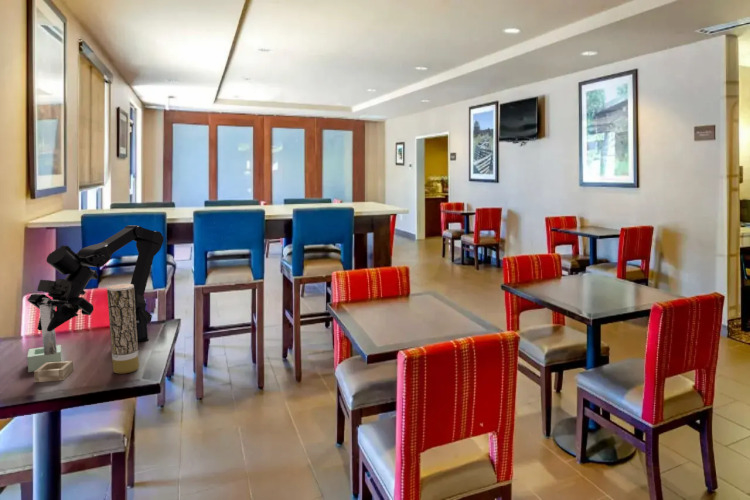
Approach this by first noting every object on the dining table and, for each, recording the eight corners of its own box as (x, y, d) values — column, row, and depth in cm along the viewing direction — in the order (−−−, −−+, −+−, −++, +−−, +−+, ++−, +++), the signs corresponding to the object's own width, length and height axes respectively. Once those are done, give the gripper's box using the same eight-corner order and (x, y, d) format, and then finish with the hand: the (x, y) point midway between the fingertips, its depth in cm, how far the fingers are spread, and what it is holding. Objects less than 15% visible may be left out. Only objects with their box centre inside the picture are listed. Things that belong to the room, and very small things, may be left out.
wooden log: (121, 376, 134) (115, 289, 131) (108, 371, 138) (102, 287, 134) (144, 368, 140) (138, 285, 136) (130, 364, 143) (125, 283, 140)
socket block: (62, 358, 148) (60, 344, 147) (61, 366, 141) (60, 352, 140) (30, 363, 144) (29, 349, 143) (28, 372, 137) (27, 357, 136)
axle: (57, 350, 137) (52, 303, 135) (56, 353, 134) (51, 305, 132) (44, 352, 135) (40, 304, 133) (43, 355, 132) (38, 306, 130)
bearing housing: (73, 370, 138) (72, 360, 138) (63, 380, 131) (62, 369, 131) (46, 372, 137) (45, 362, 136) (34, 382, 130) (33, 371, 129)
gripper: (30, 266, 137) (-5, 313, 128) (81, 269, 132) (48, 318, 123) (57, 287, 146) (26, 332, 137) (106, 291, 141) (77, 338, 132)
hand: (43, 330), depth 132 cm, fingers closed on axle, 3 cm apart
